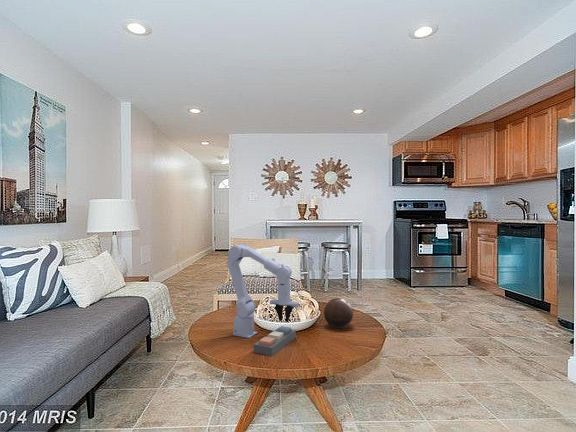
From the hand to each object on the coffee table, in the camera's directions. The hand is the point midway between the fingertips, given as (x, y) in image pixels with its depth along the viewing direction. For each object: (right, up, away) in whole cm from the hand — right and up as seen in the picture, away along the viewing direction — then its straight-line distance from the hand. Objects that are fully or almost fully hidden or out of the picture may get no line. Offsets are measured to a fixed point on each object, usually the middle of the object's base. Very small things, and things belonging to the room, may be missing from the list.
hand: (284, 321), depth 163 cm
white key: (-3, -6, -7) cm, 10 cm away
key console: (-3, -9, -7) cm, 12 cm away
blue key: (0, -6, 0) cm, 6 cm away
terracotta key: (-7, -6, -14) cm, 17 cm away
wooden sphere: (+28, -9, +16) cm, 34 cm away
